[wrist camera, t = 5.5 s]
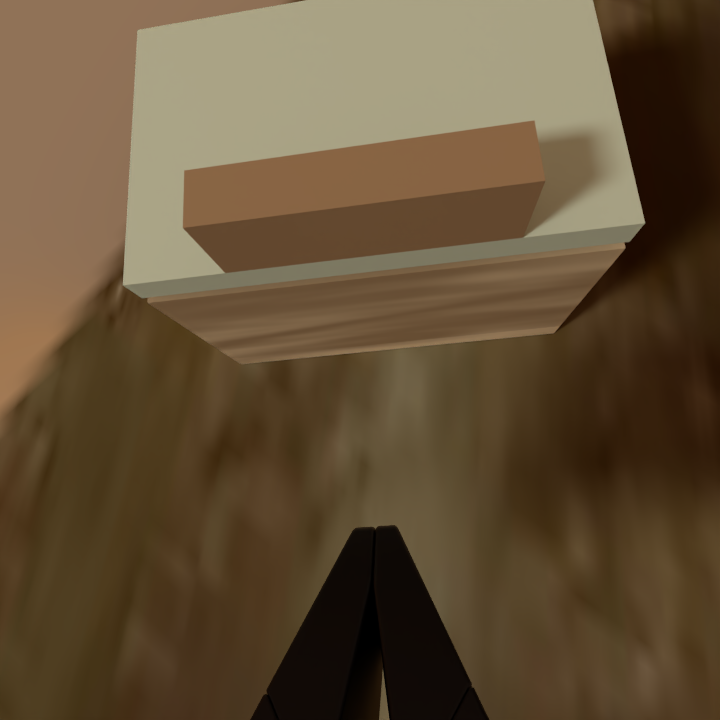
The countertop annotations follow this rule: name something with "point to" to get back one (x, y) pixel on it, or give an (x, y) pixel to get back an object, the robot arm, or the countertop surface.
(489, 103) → the lid
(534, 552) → the countertop surface
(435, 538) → the countertop surface
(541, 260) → the box
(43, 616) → the countertop surface
